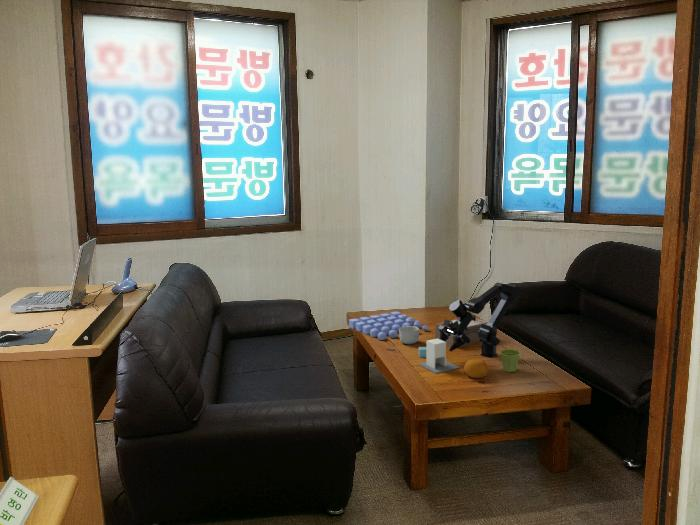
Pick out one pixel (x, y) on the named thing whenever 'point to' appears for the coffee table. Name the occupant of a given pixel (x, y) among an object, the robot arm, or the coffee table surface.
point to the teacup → (409, 334)
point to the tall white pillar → (435, 352)
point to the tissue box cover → (471, 332)
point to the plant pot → (510, 359)
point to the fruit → (476, 368)
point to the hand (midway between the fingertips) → (444, 348)
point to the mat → (440, 367)
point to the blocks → (384, 324)
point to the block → (422, 351)
